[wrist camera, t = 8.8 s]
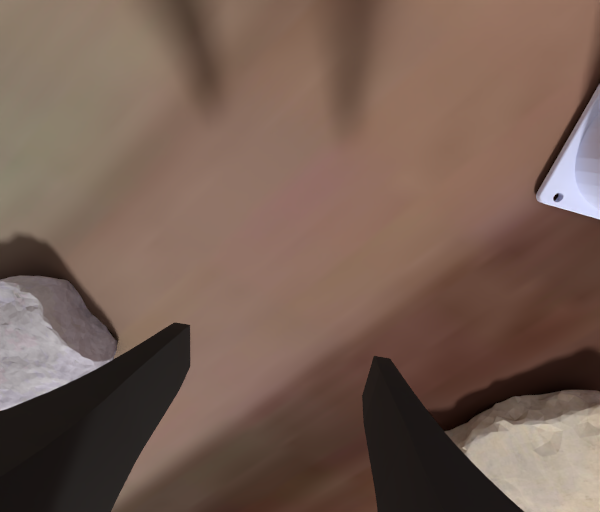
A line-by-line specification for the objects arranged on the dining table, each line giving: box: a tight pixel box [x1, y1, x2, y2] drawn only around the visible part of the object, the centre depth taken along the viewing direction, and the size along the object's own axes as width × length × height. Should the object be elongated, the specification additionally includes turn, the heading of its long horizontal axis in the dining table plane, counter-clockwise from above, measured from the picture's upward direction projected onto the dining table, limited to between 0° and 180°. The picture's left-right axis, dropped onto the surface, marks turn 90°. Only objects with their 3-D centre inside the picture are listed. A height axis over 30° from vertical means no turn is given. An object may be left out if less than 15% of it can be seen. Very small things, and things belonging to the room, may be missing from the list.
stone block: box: [0, 275, 117, 410], centre depth 23 cm, size 12×5×10 cm
